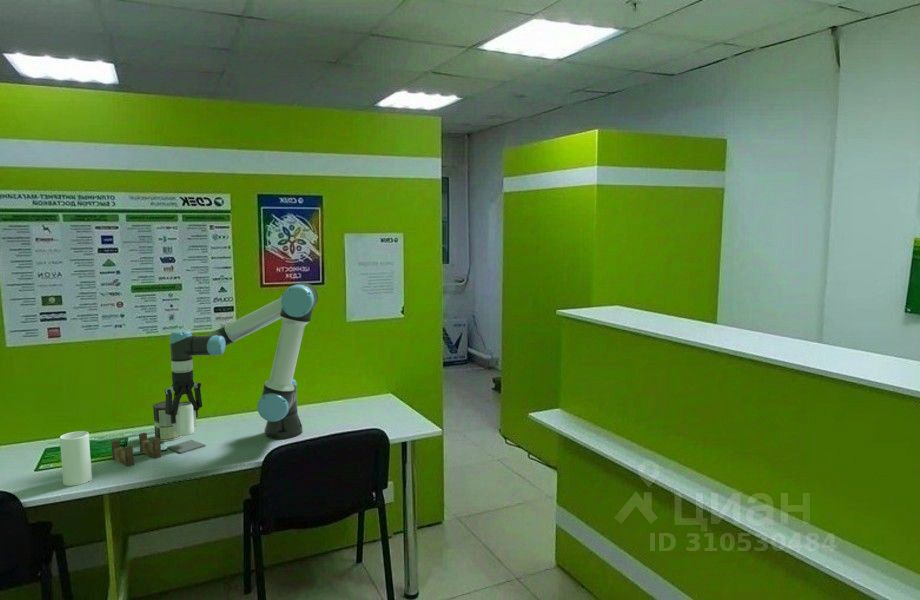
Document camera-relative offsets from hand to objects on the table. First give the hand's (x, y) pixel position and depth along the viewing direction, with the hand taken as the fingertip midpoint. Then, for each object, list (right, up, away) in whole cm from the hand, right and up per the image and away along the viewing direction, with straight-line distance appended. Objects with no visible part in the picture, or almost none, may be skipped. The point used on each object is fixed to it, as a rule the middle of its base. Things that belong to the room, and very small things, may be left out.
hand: (185, 428), depth 235 cm
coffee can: (-12, -6, +12) cm, 19 cm away
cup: (-22, -11, -31) cm, 40 cm away
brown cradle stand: (-13, -9, -10) cm, 19 cm away
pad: (0, -7, +1) cm, 8 cm away
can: (0, -2, 0) cm, 2 cm away
